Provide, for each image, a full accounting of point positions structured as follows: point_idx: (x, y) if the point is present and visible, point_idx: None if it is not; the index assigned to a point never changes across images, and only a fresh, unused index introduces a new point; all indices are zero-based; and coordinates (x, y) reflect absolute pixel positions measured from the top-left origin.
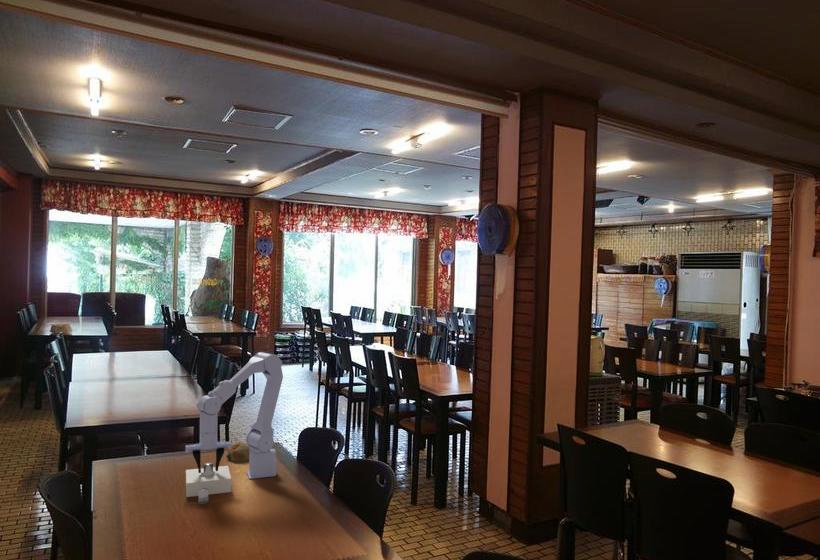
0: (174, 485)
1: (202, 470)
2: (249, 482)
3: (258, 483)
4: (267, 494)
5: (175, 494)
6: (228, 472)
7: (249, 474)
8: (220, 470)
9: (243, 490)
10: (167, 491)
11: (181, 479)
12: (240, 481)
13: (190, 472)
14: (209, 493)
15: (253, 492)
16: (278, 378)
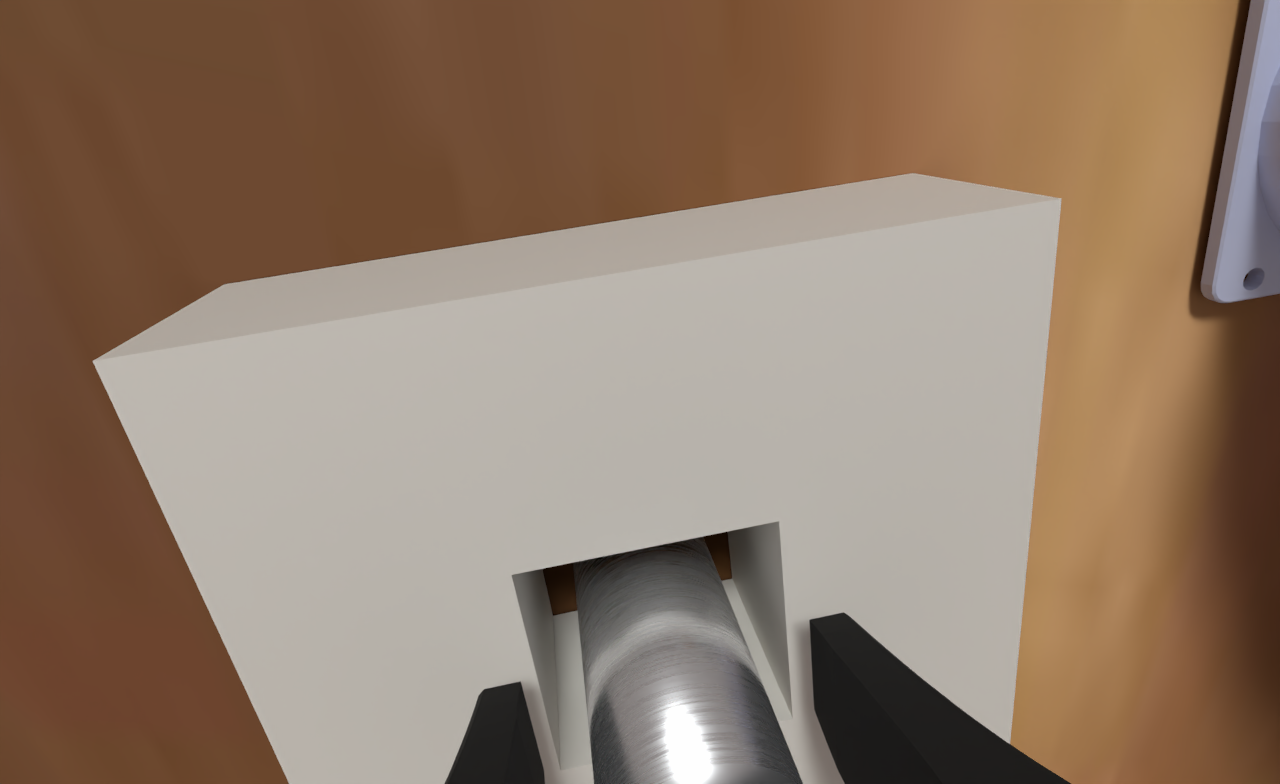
0: (58, 378)
1: (523, 448)
2: (1158, 409)
3: (1243, 459)
4: (1217, 749)
5: (236, 708)
6: (1003, 603)
7: (1259, 141)
8: (883, 493)
9: (1035, 647)
10: (61, 608)
11: (53, 58)
12: (1062, 353)
13: (281, 542)
14: None
15: (1115, 701)
16: None
